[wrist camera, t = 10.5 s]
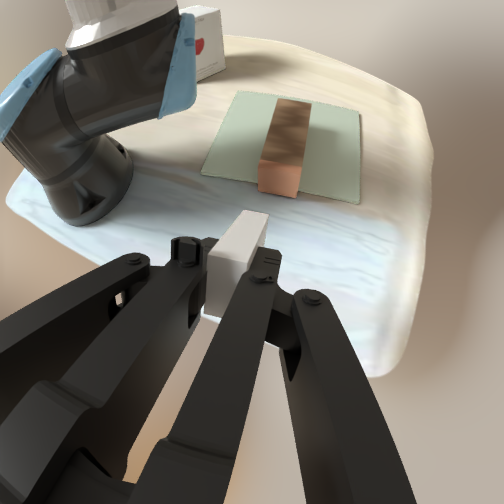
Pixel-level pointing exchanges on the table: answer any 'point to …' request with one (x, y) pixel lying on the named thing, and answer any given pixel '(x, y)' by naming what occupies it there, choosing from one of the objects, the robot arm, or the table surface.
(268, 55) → the table surface
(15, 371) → the robot arm
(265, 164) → the walnut block
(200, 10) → the supplement box
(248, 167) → the mat
